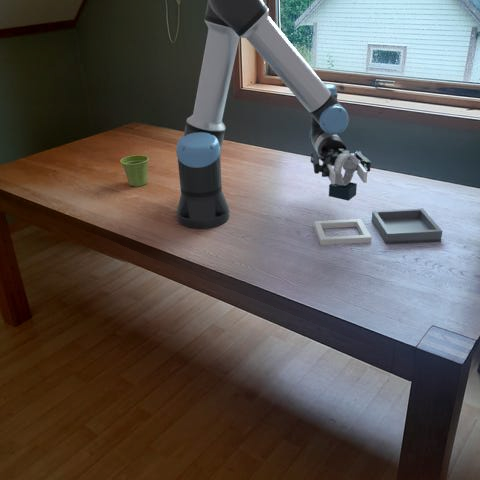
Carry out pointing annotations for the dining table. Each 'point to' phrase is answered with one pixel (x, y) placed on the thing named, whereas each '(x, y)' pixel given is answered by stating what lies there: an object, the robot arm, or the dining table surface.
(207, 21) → the robot arm
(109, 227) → the dining table surface
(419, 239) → the tray
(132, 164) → the plant pot
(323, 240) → the white open frame
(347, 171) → the watch
